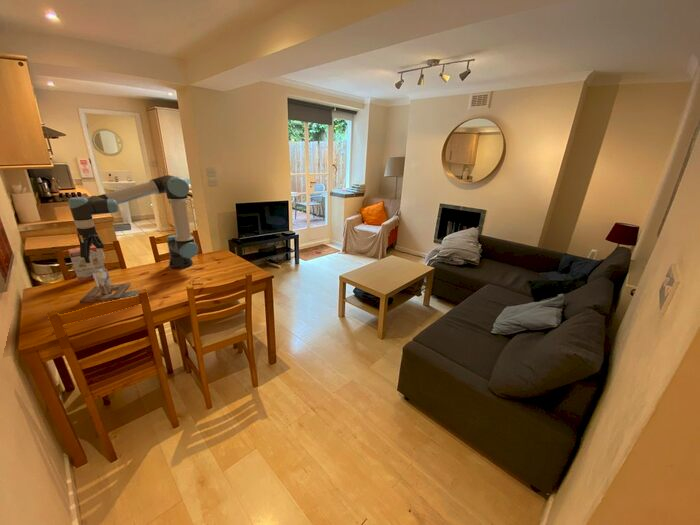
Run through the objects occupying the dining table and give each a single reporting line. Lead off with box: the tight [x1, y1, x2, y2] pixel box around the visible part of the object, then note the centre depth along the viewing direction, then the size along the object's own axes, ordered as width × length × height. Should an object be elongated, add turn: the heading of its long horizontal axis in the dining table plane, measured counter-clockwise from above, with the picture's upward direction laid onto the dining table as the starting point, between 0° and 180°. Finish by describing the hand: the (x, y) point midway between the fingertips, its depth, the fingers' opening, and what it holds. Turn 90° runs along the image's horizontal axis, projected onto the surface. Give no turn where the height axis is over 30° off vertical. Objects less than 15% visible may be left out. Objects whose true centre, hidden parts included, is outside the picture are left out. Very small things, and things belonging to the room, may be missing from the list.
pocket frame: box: [79, 282, 131, 304], centre depth 168 cm, size 18×18×2 cm
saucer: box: [118, 289, 139, 300], centre depth 167 cm, size 12×12×1 cm
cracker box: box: [67, 245, 106, 283], centre depth 182 cm, size 14×6×21 cm, turn 139°
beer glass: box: [92, 268, 114, 296], centre depth 165 cm, size 7×7×15 cm
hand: (96, 263), depth 160 cm, fingers open, 13 cm apart
